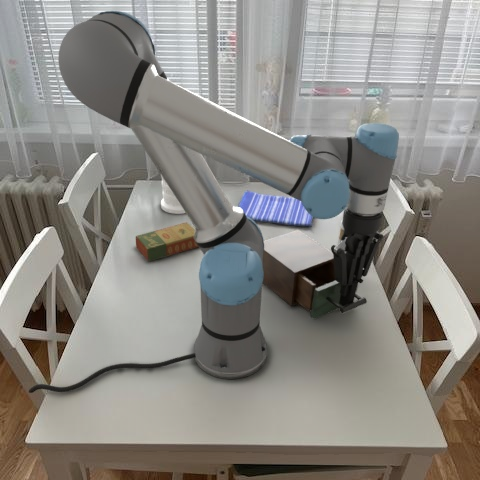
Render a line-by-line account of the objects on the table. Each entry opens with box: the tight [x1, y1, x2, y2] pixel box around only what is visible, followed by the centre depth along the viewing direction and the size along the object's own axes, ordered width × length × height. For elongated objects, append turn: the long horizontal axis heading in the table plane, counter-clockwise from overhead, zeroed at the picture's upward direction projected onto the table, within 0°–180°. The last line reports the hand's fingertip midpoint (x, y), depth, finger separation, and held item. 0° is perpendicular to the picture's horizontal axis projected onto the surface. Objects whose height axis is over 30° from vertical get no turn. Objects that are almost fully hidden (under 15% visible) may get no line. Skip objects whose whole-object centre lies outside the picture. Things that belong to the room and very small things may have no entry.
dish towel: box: [237, 190, 314, 227], centre depth 155 cm, size 17×24×3 cm
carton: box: [135, 222, 199, 262], centre depth 136 cm, size 8×16×4 cm, turn 122°
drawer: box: [294, 261, 368, 320], centre depth 115 cm, size 20×12×8 cm, turn 34°
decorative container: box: [160, 174, 186, 215], centre depth 152 cm, size 12×12×18 cm
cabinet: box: [262, 229, 334, 307], centre depth 122 cm, size 16×14×10 cm
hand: (345, 304), depth 110 cm, fingers closed
